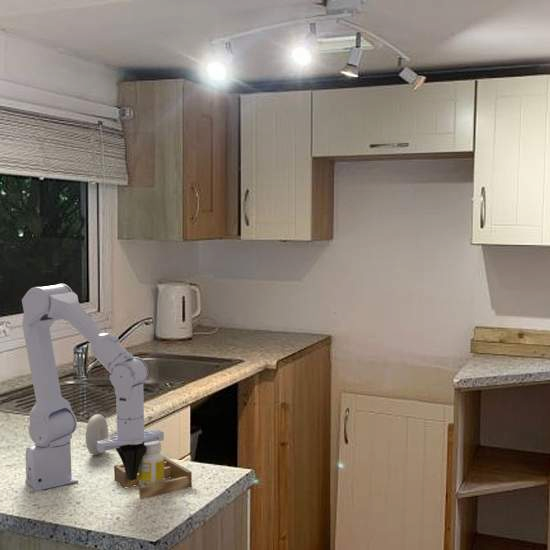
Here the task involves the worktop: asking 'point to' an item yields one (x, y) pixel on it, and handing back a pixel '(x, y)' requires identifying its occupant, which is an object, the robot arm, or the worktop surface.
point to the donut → (96, 432)
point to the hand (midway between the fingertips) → (131, 478)
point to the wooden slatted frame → (170, 470)
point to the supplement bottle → (151, 465)
